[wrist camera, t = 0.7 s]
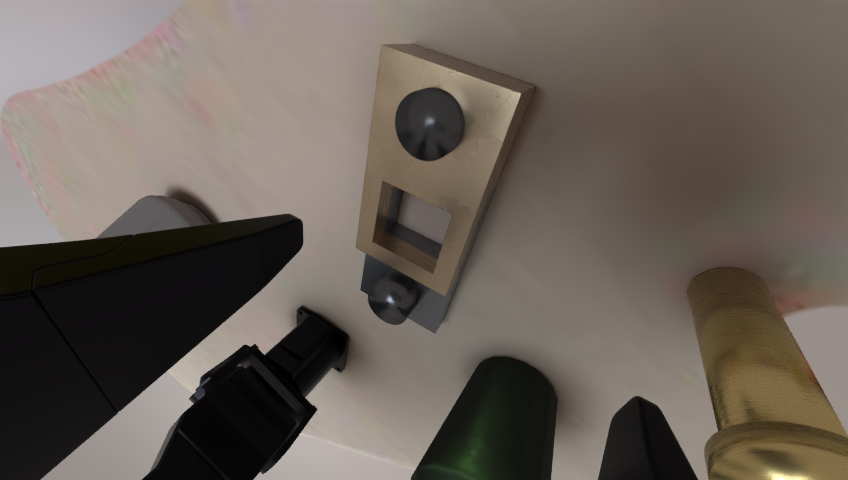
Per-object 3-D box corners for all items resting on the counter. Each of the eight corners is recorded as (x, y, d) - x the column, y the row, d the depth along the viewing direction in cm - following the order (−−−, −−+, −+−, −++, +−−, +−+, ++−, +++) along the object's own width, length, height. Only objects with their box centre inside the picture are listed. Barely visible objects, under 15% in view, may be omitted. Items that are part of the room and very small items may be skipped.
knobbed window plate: (443, 321, 27) (419, 357, 24) (371, 279, 29) (340, 308, 26) (536, 85, 16) (515, 97, 13) (412, 43, 18) (368, 45, 15)
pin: (738, 338, 17) (823, 572, 10) (657, 300, 19) (678, 486, 11) (808, 284, 15) (990, 538, 7) (710, 244, 16) (783, 432, 9)
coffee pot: (188, 172, 34) (-30, 239, 23) (252, 267, 37) (87, 369, 26) (132, 222, 47) (-27, 281, 36) (183, 290, 50) (51, 365, 39)
